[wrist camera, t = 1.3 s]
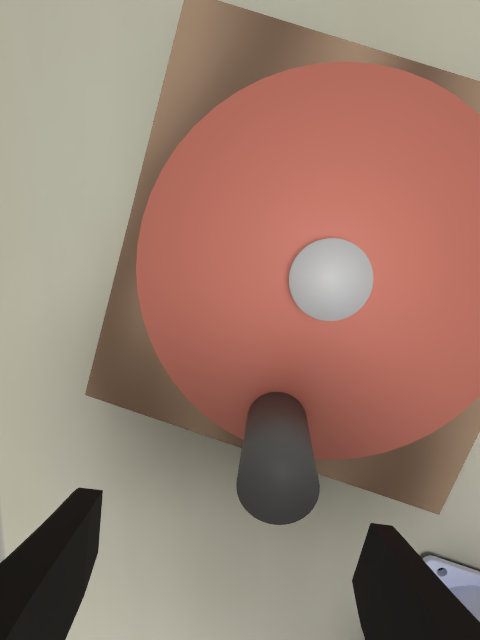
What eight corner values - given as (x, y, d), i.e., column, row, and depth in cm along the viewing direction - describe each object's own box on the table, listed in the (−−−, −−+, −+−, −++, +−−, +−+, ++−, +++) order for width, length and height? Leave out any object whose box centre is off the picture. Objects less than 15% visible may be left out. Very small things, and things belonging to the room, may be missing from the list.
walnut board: (595, 137, 17) (626, 126, 15) (427, 495, 20) (438, 514, 19) (194, 12, 17) (186, -10, 16) (98, 384, 21) (85, 394, 19)
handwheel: (201, 21, 16) (157, -114, 10) (595, 143, 15) (795, 78, 9) (106, 385, 19) (30, 447, 13) (429, 493, 18) (501, 609, 13)
